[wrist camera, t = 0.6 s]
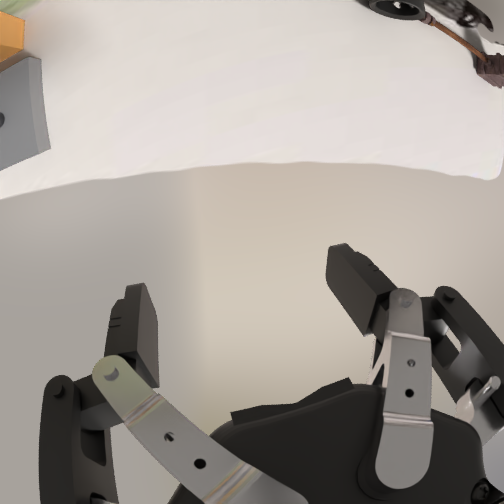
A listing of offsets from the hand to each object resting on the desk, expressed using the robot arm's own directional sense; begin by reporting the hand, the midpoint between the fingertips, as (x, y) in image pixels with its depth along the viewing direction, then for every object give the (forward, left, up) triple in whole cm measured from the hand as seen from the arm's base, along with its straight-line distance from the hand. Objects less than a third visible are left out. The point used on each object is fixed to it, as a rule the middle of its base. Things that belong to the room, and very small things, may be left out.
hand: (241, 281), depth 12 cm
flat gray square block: (-13, -27, -29) cm, 41 cm away
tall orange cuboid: (-26, -27, -29) cm, 47 cm away
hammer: (-25, +55, -29) cm, 67 cm away
